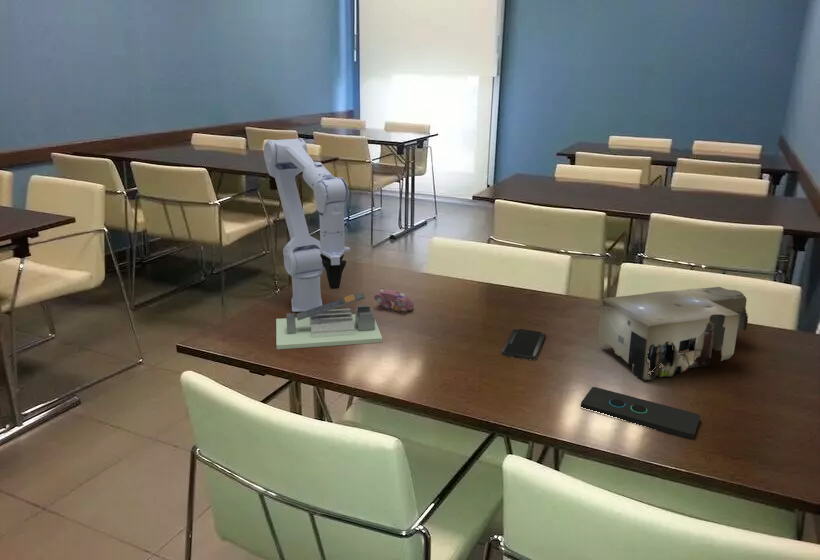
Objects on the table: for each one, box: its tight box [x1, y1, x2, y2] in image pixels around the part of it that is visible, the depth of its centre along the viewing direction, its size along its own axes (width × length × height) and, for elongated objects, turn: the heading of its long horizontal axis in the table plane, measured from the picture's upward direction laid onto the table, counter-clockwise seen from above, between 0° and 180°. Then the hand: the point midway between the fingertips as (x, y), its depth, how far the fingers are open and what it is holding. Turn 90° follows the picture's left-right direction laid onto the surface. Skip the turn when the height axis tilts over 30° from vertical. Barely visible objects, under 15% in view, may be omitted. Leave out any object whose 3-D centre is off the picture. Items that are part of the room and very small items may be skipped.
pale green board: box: [275, 313, 383, 350], centre depth 154 cm, size 16×24×1 cm, turn 101°
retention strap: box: [296, 292, 366, 320], centre depth 152 cm, size 3×16×1 cm, turn 101°
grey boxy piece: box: [597, 286, 749, 382], centre depth 142 cm, size 18×33×13 cm, turn 106°
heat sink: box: [309, 308, 355, 338], centre depth 153 cm, size 10×10×3 cm
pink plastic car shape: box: [373, 288, 415, 312], centre depth 168 cm, size 10×5×7 cm, turn 62°
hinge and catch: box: [285, 304, 376, 334], centre depth 153 cm, size 6×20×4 cm, turn 101°
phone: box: [501, 328, 547, 361], centre depth 148 cm, size 8×1×15 cm
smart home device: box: [580, 386, 701, 440], centre depth 119 cm, size 8×2×20 cm
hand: (333, 285), depth 155 cm, fingers open, 4 cm apart
